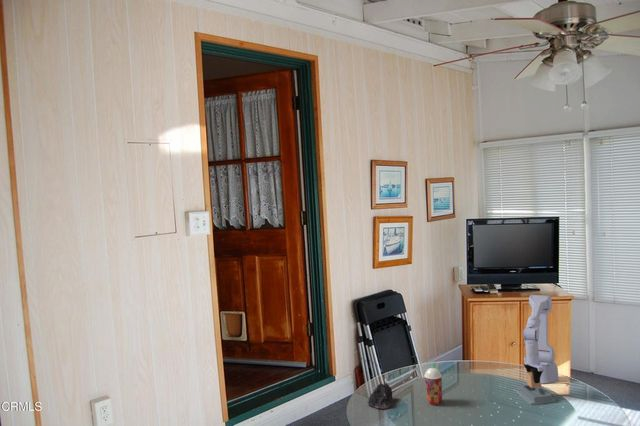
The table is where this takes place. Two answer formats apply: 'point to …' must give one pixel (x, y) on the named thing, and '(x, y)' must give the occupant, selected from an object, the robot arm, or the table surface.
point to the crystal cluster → (381, 397)
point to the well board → (534, 395)
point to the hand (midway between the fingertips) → (534, 380)
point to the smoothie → (433, 385)
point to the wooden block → (532, 380)
